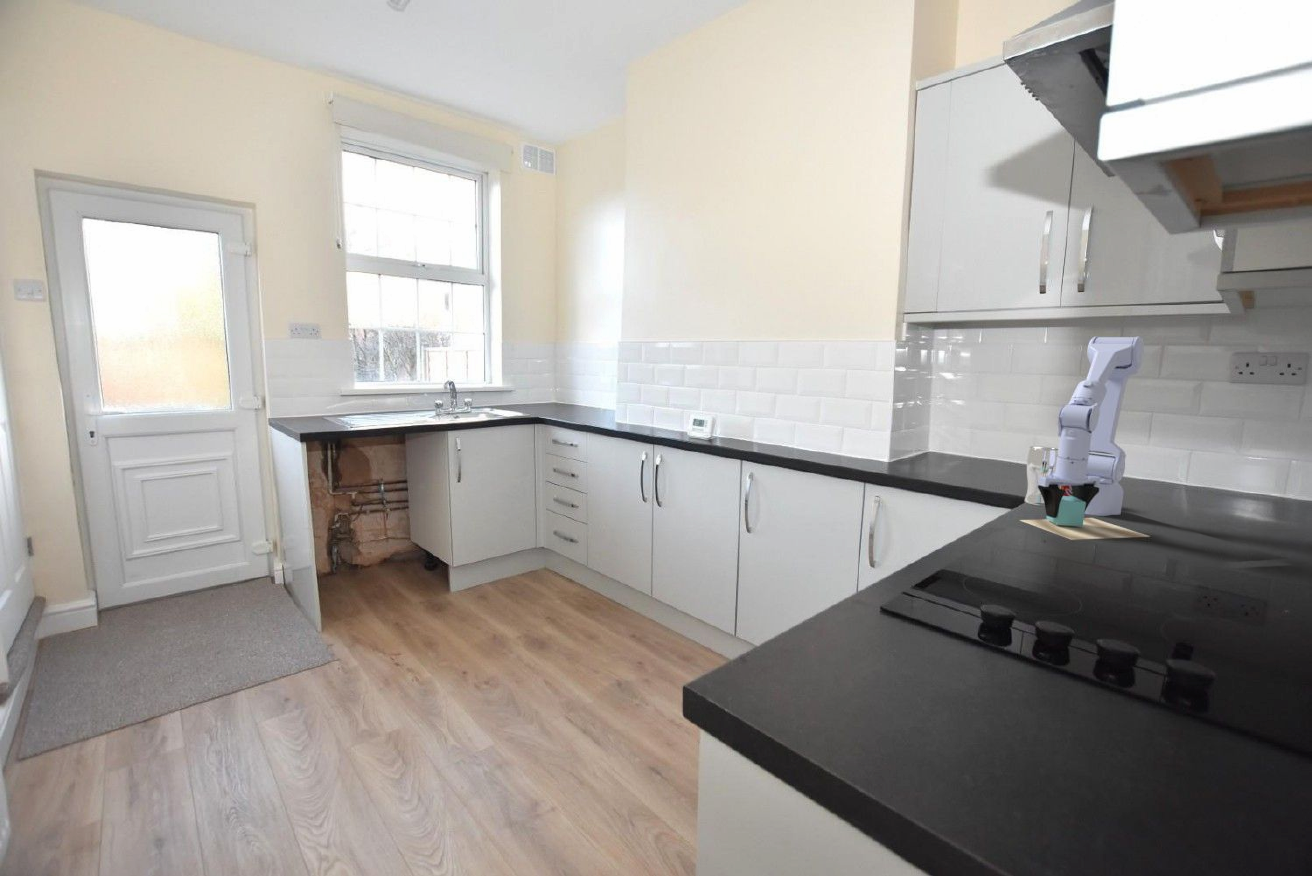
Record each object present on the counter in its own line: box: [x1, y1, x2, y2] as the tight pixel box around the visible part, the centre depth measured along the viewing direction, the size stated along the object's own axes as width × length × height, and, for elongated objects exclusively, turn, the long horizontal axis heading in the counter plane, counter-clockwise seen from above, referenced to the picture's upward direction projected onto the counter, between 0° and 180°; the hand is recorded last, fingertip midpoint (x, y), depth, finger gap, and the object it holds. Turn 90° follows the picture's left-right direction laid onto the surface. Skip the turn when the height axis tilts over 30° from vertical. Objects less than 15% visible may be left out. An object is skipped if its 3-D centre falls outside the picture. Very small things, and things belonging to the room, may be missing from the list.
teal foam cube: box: [1045, 496, 1086, 527], centre depth 133 cm, size 5×5×6 cm
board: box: [1019, 517, 1151, 541], centre depth 131 cm, size 20×14×5 cm
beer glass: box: [1024, 445, 1058, 507], centre depth 156 cm, size 7×7×15 cm
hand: (1064, 516), depth 134 cm, fingers closed on teal foam cube, 6 cm apart
